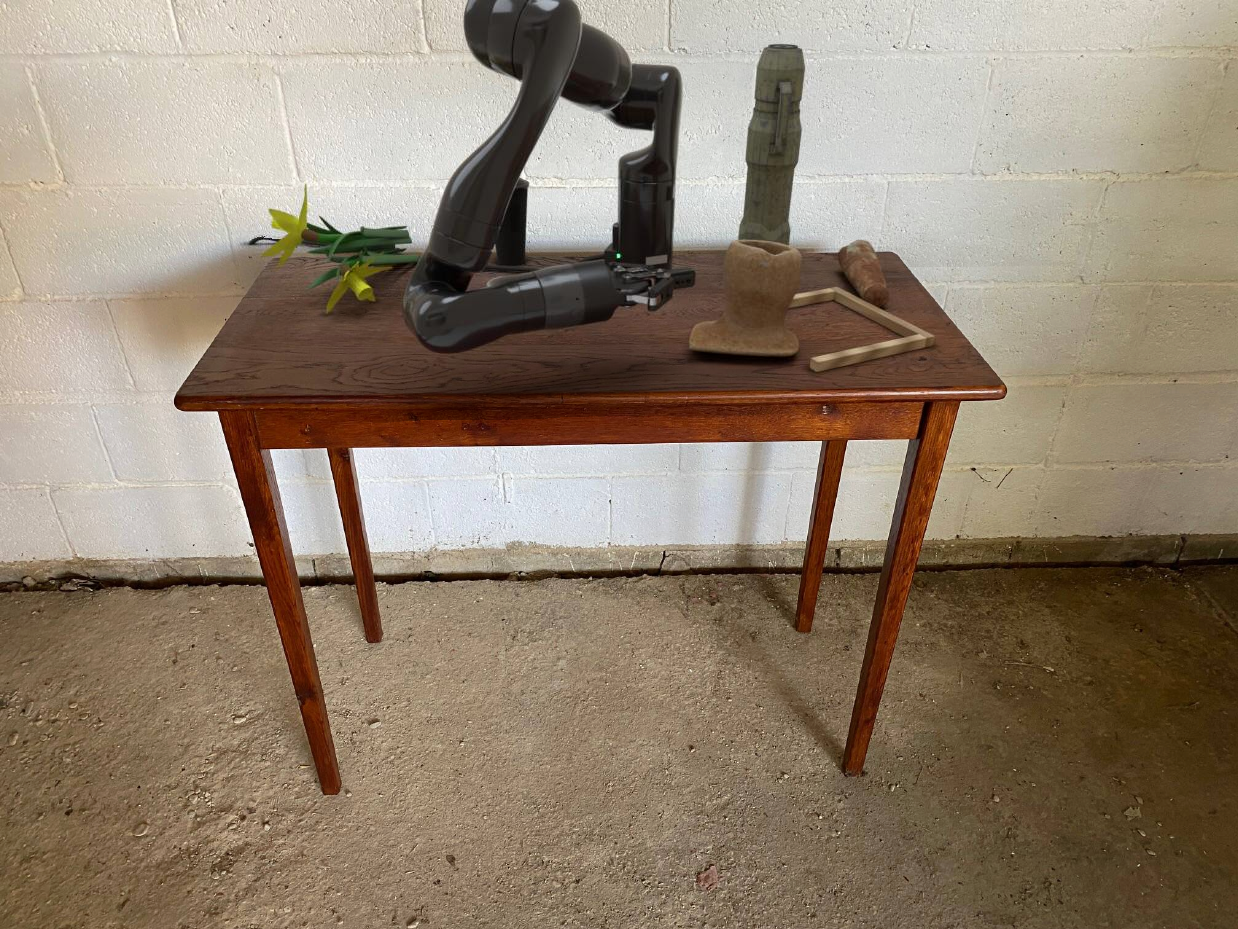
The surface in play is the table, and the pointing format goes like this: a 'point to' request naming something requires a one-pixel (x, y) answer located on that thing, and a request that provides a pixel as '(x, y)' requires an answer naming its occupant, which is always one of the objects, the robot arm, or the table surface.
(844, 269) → the rusty brown cylinder
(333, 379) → the table surface
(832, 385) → the table surface
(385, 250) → the daffodil flowers
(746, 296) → the stone cup
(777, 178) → the thermos
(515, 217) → the drinking cup
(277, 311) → the table surface
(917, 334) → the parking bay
